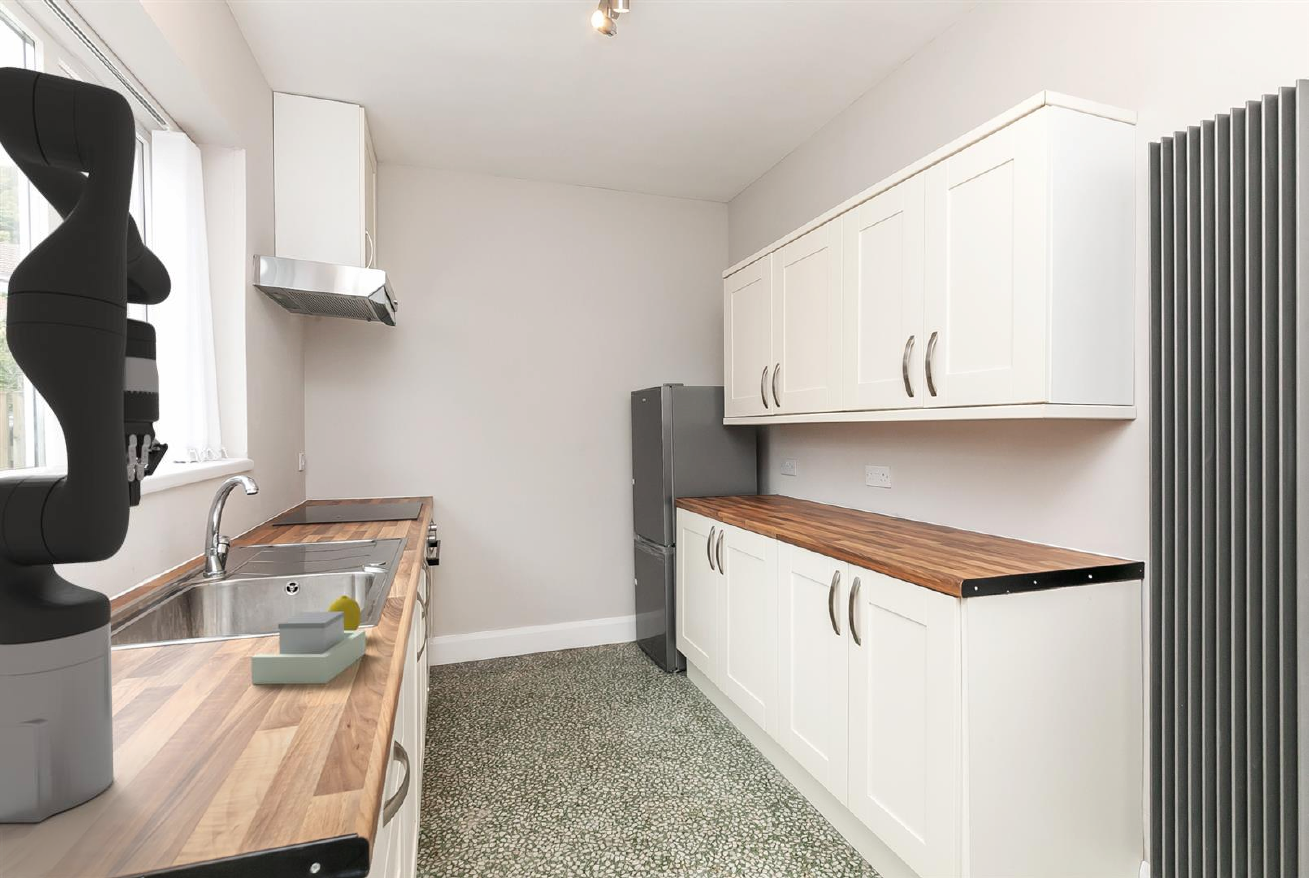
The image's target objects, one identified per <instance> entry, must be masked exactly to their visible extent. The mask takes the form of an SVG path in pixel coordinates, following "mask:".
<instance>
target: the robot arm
mask: <svg viewBox="0 0 1309 878" xmlns="http://www.w3.org/2000/svg"><path fill="white" fill-rule="evenodd" d="M133 112H134V111H133V109H132V107H131V105H130V103H129V102H128V100H127V98H126V97H125V96H124V95H123V94H121V92H118V91H117V90H115V89H113V88H109V87H106V86H102V85H98V84H95V83H90V82H86V81H82V80H78V79H73V78H68V77H64V76H60V75H55V74H51V73H47V72H42V71H38V70H33V69H28V68H22V67H17V66H16V67H15V66H14V67H13V66H2V67H0V145H1V146H2V148H3V150H4V151H5V153H6V154H7V156H9V158H10V159H11V160H12V161H13V163H15V165H16V166H17V168H18V169H19V170H20V171H21V172H22V173H23V174H24V176H25V177H26V178H27V179H28V180H29V182H30V183H31V184H32V185H33V186H34V188H35V189H36V190H37V191H38V192H39V193H40V194H41V195H42V196H43V198H44V199H45V200H46V201H47V202H48V203H49V204H50V205H51V206H52V207H53V209H54V210H55V211H56V212H57V214H58V215H59V217H60V218H61V220H62V222H61V223H60V224H59V225H58V226H57V227H56V228H55V229H54V230H53V231H52V232H50V233H49V234H48V236H47V237H45V239H43V240H42V241H41V242H40V243H39V244H37V245H36V246H35V247H34V249H32V250H30V252H29V253H28V254H26V256H25V257H24V258H23V259H22V260H21V261H20V262H19V263H18V265H17V266H16V267H15V269H14V270H13V271H12V273H11V275H10V278H9V279H8V283H7V297H6V314H5V315H6V317H5V321H6V322H5V339H6V344H7V347H8V350H9V352H10V354H11V356H12V357H13V359H14V361H15V362H16V365H18V367H19V368H20V370H21V371H22V373H23V374H24V376H26V378H27V380H29V382H30V383H31V384H32V386H33V387H34V388H35V390H36V391H37V392H38V394H39V395H40V396H41V398H42V399H43V400H44V401H45V403H47V405H48V406H49V408H50V409H51V411H52V412H53V413H54V416H55V417H56V419H57V420H58V423H59V425H60V427H61V430H62V434H63V437H64V442H65V449H66V458H67V459H66V460H67V473H66V474H28V475H11V476H3V477H0V823H40V822H42V821H44V820H45V819H47V818H49V817H51V816H52V815H55V814H58V813H61V812H63V811H66V810H69V809H72V808H74V807H77V806H78V805H81V804H84V803H85V802H87V801H89V800H91V799H93V798H95V797H96V796H97V795H100V794H101V793H103V792H104V791H105V790H106V789H108V787H110V786H111V784H112V783H113V782H114V741H113V740H114V736H113V735H114V734H113V733H114V732H113V730H114V729H113V690H112V689H113V686H112V683H113V682H112V680H113V679H112V678H113V677H112V629H111V628H112V627H111V625H112V622H111V621H112V615H111V614H112V613H111V612H112V610H111V609H112V608H111V607H112V605H111V601H110V598H109V597H108V596H107V595H106V594H105V593H103V592H100V591H97V590H93V589H91V588H86V587H83V586H79V585H77V584H74V583H72V582H70V581H68V580H67V579H65V578H64V577H62V576H61V575H59V573H57V571H56V570H55V566H54V565H66V564H67V565H69V564H83V563H84V564H85V563H87V564H88V563H97V562H103V561H106V560H109V559H111V558H112V557H113V556H115V555H116V554H117V553H118V552H119V551H120V550H121V548H122V546H123V545H124V542H125V540H126V537H127V534H128V531H129V530H128V529H129V523H130V513H131V511H130V510H131V508H133V507H138V506H140V502H141V494H142V493H141V492H142V491H141V490H142V489H141V481H143V480H144V479H145V478H146V477H150V476H153V474H154V473H155V471H156V470H157V468H158V466H159V464H160V463H161V461H162V459H163V457H165V455H166V453H167V451H169V445H168V443H166V442H164V443H162V442H160V441H159V440H158V439H156V431H155V429H154V423H156V422H158V421H159V420H160V381H159V380H160V379H159V378H160V377H159V370H158V365H157V332H156V328H155V326H154V325H153V324H152V323H150V322H148V321H145V320H142V319H138V318H133V317H130V316H129V317H128V304H131V305H133V304H134V305H145V306H152V305H153V306H155V305H159V304H161V303H163V302H165V301H166V300H167V299H168V297H170V295H171V290H172V281H171V277H170V275H169V274H170V273H169V272H168V270H167V268H166V266H165V264H164V263H163V262H162V261H161V260H160V258H159V257H158V256H157V255H156V254H155V253H154V252H153V251H152V250H151V249H150V248H149V247H148V246H147V245H146V244H145V242H143V239H142V236H141V234H140V231H139V227H138V225H137V222H136V220H135V218H134V217H133V215H132V214H131V212H130V208H131V206H130V205H131V197H132V189H133V188H132V187H133V180H134V171H135V160H136V149H137V147H136V146H137V132H136V121H135V117H134V116H135V115H134V113H133ZM86 174H88V176H87V175H86Z"/></svg>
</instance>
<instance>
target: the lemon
mask: <svg viewBox="0 0 1309 878" xmlns="http://www.w3.org/2000/svg"><path fill="white" fill-rule="evenodd" d="M327 612H344V631H358V628H359V627H360V624H361V619H362V613H361V608H360V605H359V603H358V602H357V600H355V599H354V598H352V597H349V596H347V595H341V596H340V597H339V598H337V599H336V600H334V601H333V602H332V603H331V604H330V606H329V609H328V610H327Z"/></svg>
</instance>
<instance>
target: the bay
mask: <svg viewBox="0 0 1309 878" xmlns="http://www.w3.org/2000/svg"><path fill="white" fill-rule="evenodd" d="M365 653H366V630H356V631H344V640H343V641H341V642H340V643H338V644H337V645H335V646H334V647H332V648H331V649H329V650H328V651H326V652H324V653H323V654H280V653H279V654H278V653H274V654H270V653H266V654H265V653H263V654H260V653H259V654H255V655H253V656H251V684H252V685H259V684H260V685H261V684H262V685H266V684H267V685H270V684H271V685H272V684H275V685H279V684H280V685H281V684H283V685H284V684H286V685H289V684H291V685H292V684H295V685H296V684H297V685H298V684H328V683H329V682H330V681H332V680H333V679H334V678H335V677H337V676H338V675H340V674H341V673H342V672H344V671H345V670H346V669H348V668H349V667H350V666H351V665H353V664H355V663H356V662H357V661H358V660H359V658H360V657H361V656H362V655H364V654H365ZM365 655H366V654H365ZM362 657H363V656H362ZM362 657H361V658H362ZM361 658H360V659H361ZM357 659H358V660H357ZM356 660H357V661H356Z"/></svg>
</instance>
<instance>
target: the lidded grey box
mask: <svg viewBox="0 0 1309 878" xmlns="http://www.w3.org/2000/svg"><path fill="white" fill-rule="evenodd" d="M277 629H278V630H279V631H278V633H279V634H278V636H279V637H278V638H279V639H278V640H279V641H278V643H279V654H323V653H324V652H326V651H328V650H329V649H331V648H332V647H334V646H335V645H337V644H338V643H340V642H341V641H343V640H344V612H328V611H300V612H298V613H296V614H294V615H292V616H291V617H287V618H286V619H285V620H282V621H280V622H279V623H277Z"/></svg>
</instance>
